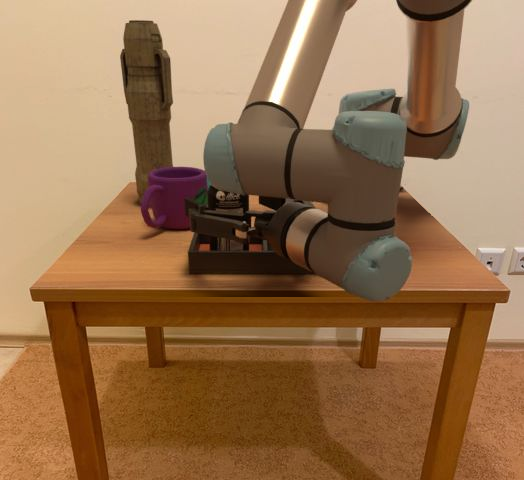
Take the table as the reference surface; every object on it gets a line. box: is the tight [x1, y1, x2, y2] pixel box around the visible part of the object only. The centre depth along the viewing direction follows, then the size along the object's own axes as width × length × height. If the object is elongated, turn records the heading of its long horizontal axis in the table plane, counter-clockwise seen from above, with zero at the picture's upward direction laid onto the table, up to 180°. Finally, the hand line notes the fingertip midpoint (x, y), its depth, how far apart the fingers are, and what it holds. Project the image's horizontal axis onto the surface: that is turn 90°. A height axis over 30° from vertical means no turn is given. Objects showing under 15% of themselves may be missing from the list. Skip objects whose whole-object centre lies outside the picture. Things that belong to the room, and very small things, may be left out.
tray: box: [187, 232, 315, 275], centre depth 85 cm, size 12×24×4 cm, turn 91°
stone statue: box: [119, 19, 174, 208], centre depth 108 cm, size 9×12×35 cm
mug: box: [140, 166, 208, 230], centre depth 99 cm, size 17×11×10 cm, turn 154°
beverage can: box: [207, 184, 250, 251], centre depth 83 cm, size 7×7×12 cm
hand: (225, 200), depth 82 cm, fingers open, 13 cm apart
